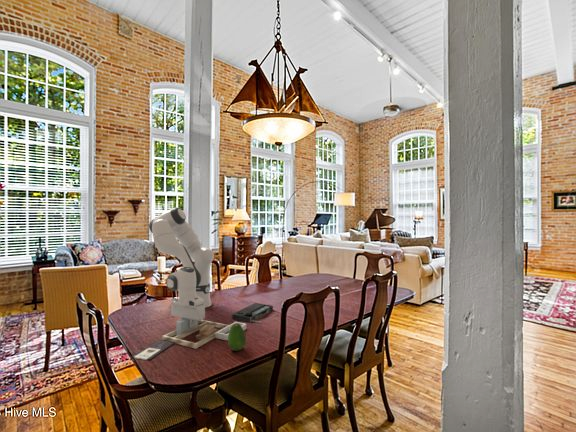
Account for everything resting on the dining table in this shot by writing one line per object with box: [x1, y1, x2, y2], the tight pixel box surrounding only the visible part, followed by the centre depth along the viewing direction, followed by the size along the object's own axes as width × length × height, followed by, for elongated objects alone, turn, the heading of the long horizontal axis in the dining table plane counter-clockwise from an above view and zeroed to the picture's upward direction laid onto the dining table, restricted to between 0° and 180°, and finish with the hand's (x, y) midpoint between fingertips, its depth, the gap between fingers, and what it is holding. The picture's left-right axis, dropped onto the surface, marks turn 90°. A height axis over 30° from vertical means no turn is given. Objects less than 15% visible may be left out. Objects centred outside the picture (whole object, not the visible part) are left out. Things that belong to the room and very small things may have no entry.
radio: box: [231, 302, 274, 324], centre depth 185 cm, size 25×4×20 cm
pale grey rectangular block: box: [175, 318, 199, 336], centre depth 158 cm, size 3×12×7 cm, turn 154°
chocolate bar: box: [131, 339, 175, 361], centre depth 137 cm, size 9×1×18 cm
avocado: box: [227, 323, 247, 352], centre depth 137 cm, size 8×8×12 cm
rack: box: [161, 319, 230, 350], centre depth 155 cm, size 21×26×2 cm
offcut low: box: [195, 329, 218, 341], centre depth 152 cm, size 5×10×2 cm, turn 158°
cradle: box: [214, 321, 248, 341], centre depth 157 cm, size 7×17×2 cm, turn 154°
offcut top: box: [199, 325, 216, 336], centre depth 152 cm, size 5×7×2 cm, turn 169°
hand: (187, 326), depth 158 cm, fingers closed on pale grey rectangular block, 3 cm apart
